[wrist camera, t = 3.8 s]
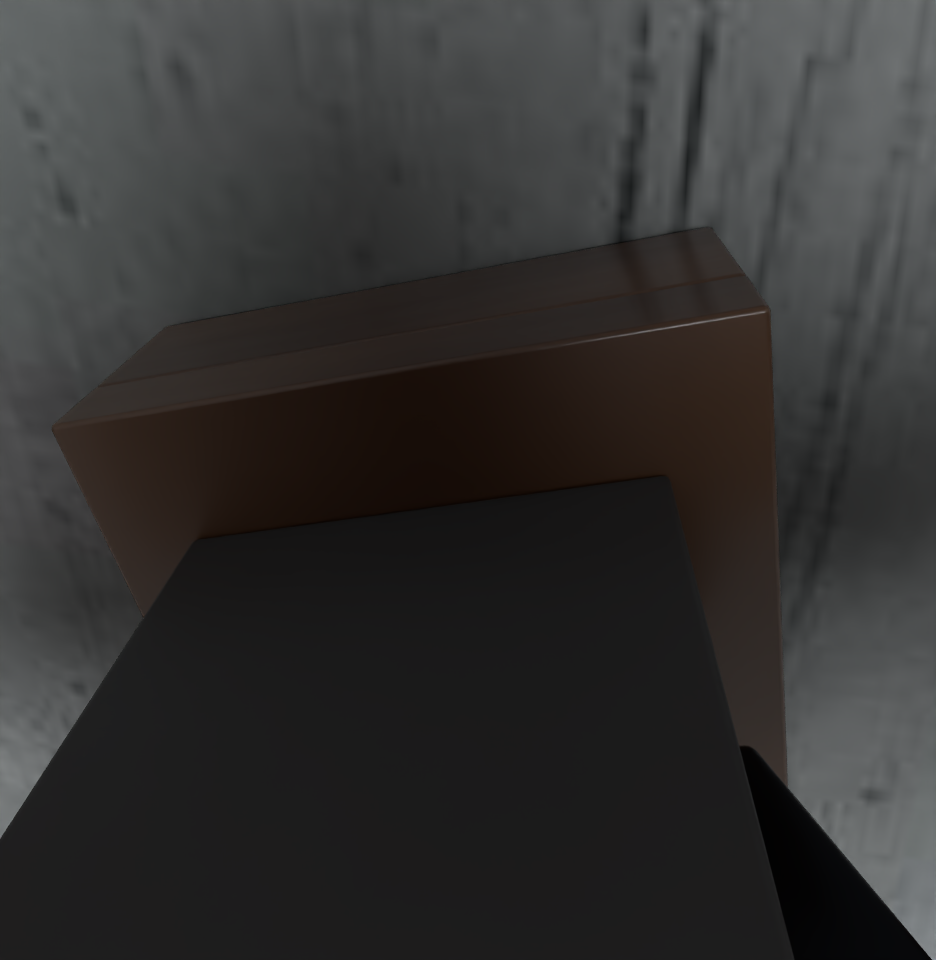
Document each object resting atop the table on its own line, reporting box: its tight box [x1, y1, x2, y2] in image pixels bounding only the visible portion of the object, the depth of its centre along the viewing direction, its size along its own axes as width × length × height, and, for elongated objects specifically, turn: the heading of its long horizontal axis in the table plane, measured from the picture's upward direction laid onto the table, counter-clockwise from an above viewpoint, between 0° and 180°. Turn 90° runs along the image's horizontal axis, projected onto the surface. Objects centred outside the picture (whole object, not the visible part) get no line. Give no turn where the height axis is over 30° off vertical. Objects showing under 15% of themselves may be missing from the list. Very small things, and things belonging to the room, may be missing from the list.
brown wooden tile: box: [52, 227, 788, 787], centre depth 11 cm, size 7×8×3 cm
